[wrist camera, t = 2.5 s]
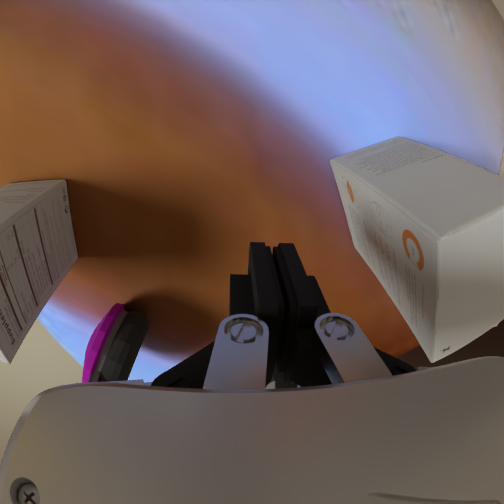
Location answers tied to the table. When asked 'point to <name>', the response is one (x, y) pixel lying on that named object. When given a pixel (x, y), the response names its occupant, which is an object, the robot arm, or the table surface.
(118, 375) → the headphones
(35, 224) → the supplement box
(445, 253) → the small box
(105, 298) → the table surface
